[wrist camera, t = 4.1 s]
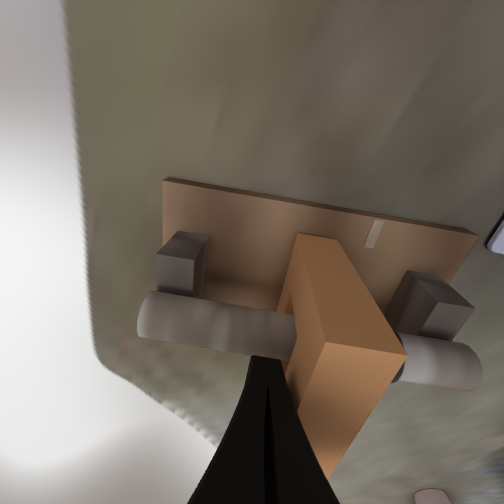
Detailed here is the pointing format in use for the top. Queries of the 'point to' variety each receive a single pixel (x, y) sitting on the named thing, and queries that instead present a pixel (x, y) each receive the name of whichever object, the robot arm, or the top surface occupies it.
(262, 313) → the pipe rig
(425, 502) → the smoothie
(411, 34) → the top surface
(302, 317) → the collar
